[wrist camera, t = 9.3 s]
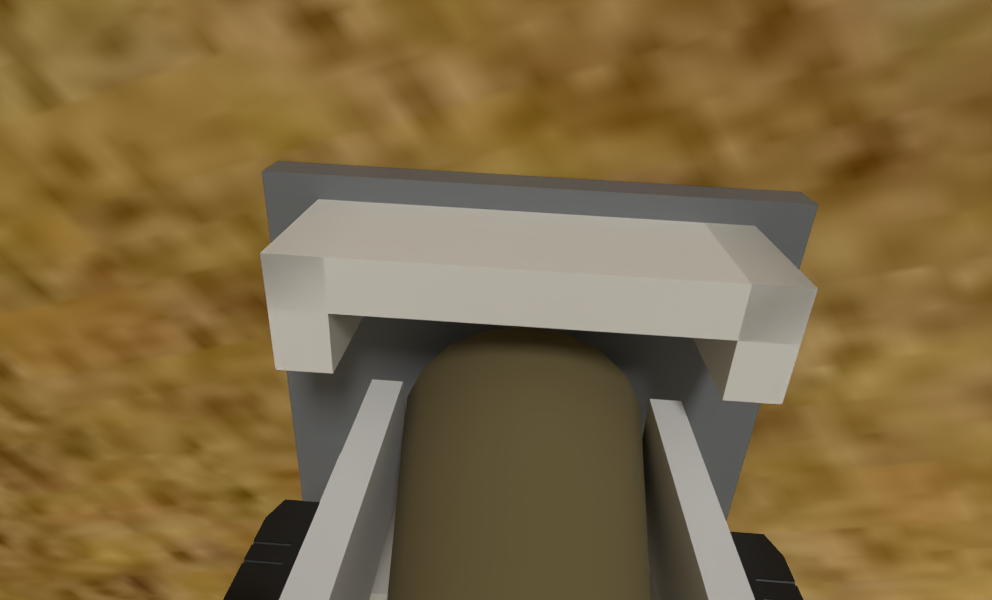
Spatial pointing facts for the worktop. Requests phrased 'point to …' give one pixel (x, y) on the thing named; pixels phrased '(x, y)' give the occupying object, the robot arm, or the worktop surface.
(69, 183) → the worktop surface
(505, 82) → the worktop surface
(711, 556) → the robot arm
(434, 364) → the cork
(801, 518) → the worktop surface
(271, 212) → the socket board
